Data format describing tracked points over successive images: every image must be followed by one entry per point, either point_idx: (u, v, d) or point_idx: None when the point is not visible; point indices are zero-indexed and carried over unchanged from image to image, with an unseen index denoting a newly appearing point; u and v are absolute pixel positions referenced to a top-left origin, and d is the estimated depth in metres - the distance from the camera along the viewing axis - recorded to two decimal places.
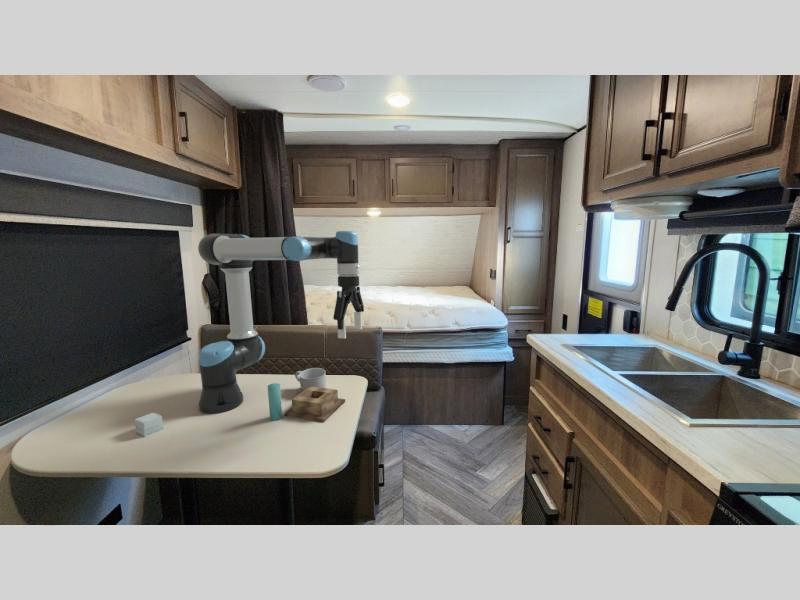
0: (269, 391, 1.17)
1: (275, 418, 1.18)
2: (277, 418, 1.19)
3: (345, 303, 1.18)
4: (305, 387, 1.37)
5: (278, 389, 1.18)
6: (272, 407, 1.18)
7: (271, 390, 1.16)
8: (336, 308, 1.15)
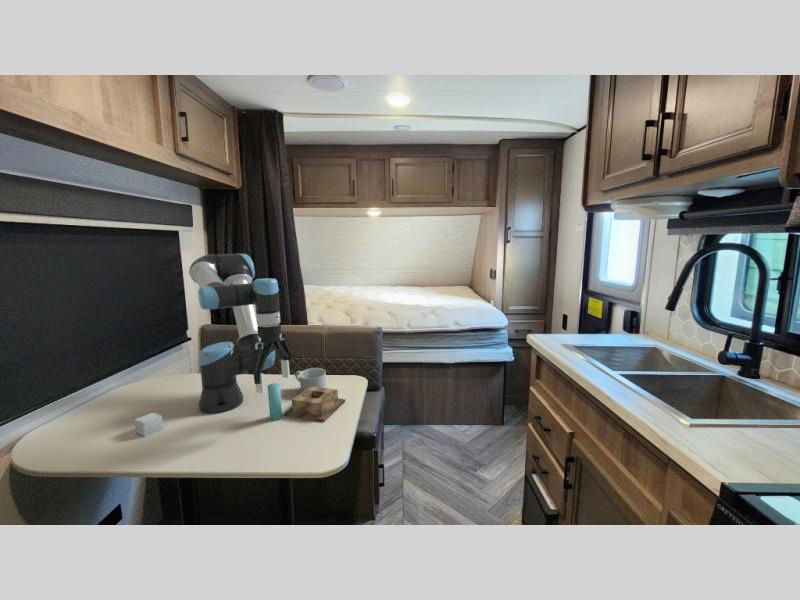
0: (269, 391, 1.17)
1: (275, 418, 1.18)
2: (277, 418, 1.19)
3: (263, 355, 1.12)
4: (305, 387, 1.37)
5: (278, 389, 1.18)
6: (272, 407, 1.18)
7: (271, 390, 1.17)
8: (251, 362, 1.08)
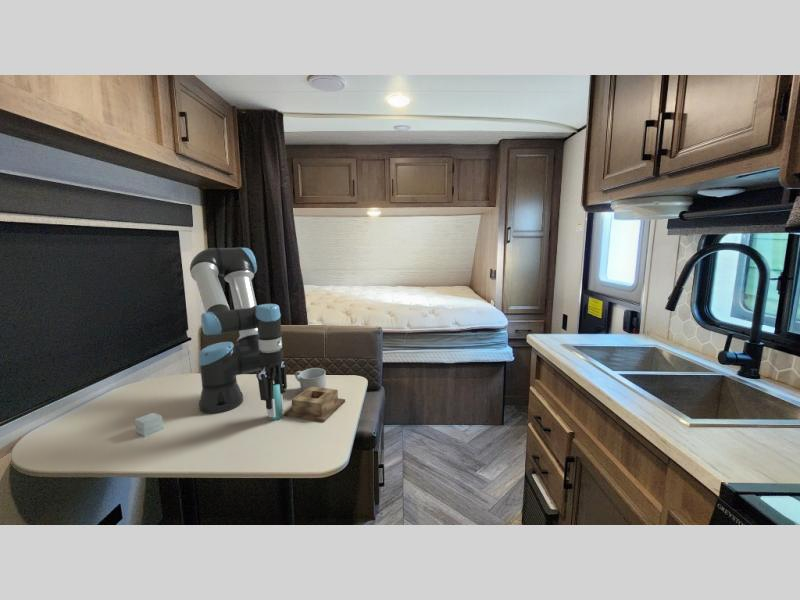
0: None
1: (275, 418, 1.18)
2: (277, 418, 1.18)
3: (269, 382, 1.15)
4: (305, 387, 1.37)
5: (278, 389, 1.18)
6: None
7: None
8: (260, 391, 1.13)
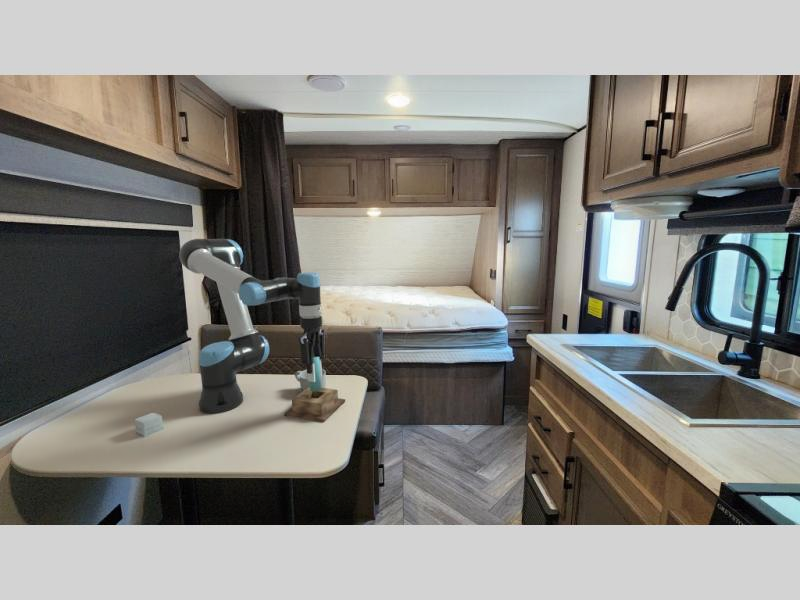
0: None
1: (315, 389, 1.23)
2: (317, 389, 1.24)
3: (310, 347, 1.20)
4: (305, 387, 1.37)
5: (318, 361, 1.23)
6: None
7: None
8: (302, 355, 1.18)
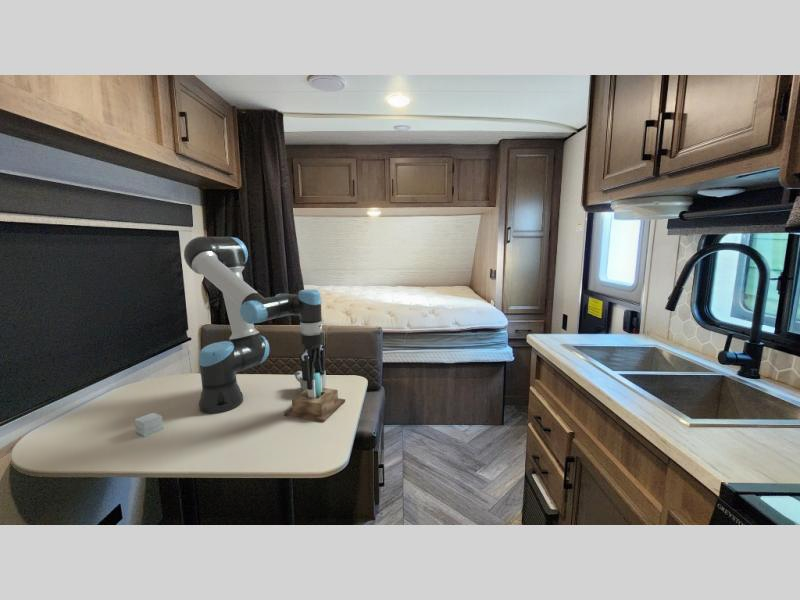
0: None
1: None
2: None
3: (311, 363, 1.21)
4: (305, 387, 1.37)
5: (318, 377, 1.24)
6: None
7: None
8: (303, 371, 1.19)
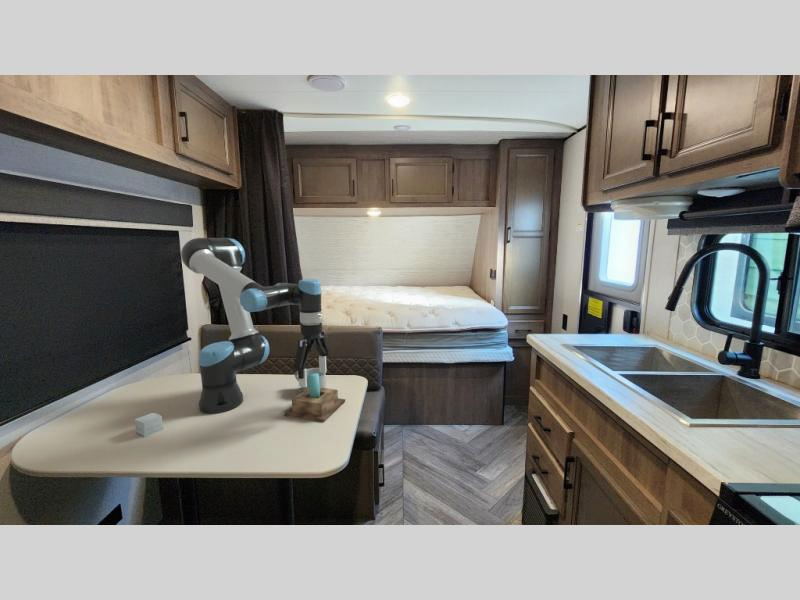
0: (309, 380, 1.23)
1: None
2: None
3: (307, 352, 1.19)
4: (305, 387, 1.37)
5: (318, 378, 1.24)
6: (312, 396, 1.24)
7: (311, 379, 1.23)
8: (296, 358, 1.15)
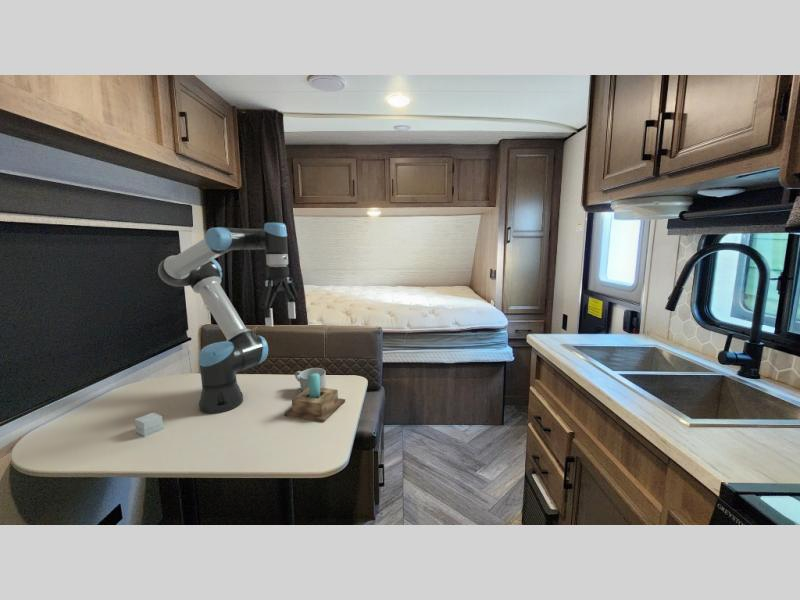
0: (310, 380, 1.23)
1: None
2: None
3: (273, 292, 1.22)
4: (305, 387, 1.37)
5: (318, 378, 1.24)
6: (312, 396, 1.24)
7: (312, 379, 1.23)
8: (262, 297, 1.19)
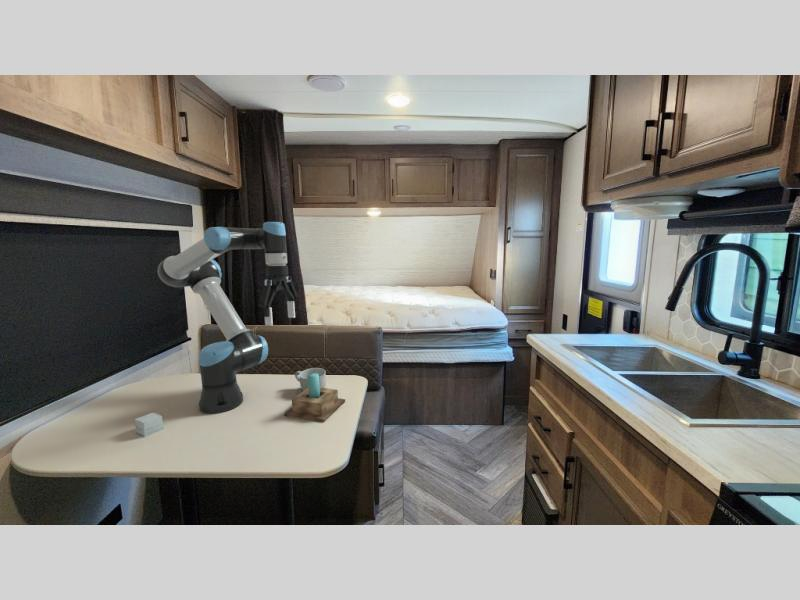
0: (309, 380, 1.23)
1: None
2: None
3: (272, 291, 1.22)
4: (305, 387, 1.37)
5: (317, 379, 1.24)
6: (311, 396, 1.24)
7: (311, 380, 1.23)
8: (261, 296, 1.19)
